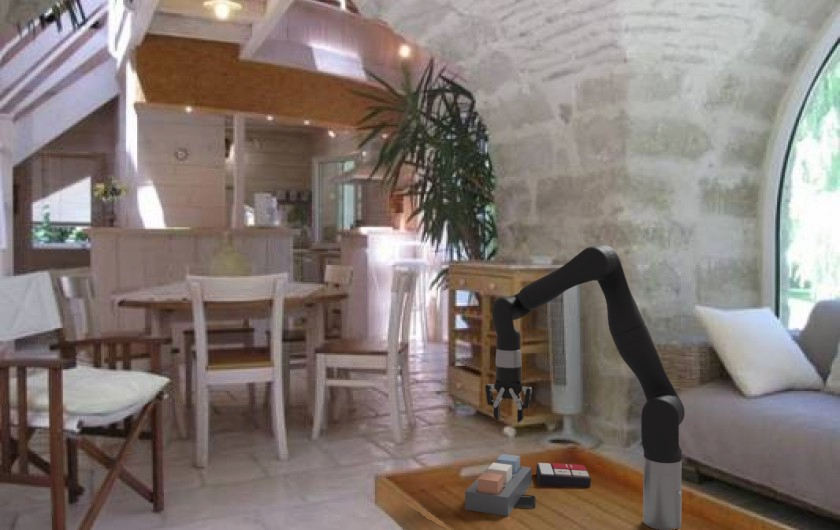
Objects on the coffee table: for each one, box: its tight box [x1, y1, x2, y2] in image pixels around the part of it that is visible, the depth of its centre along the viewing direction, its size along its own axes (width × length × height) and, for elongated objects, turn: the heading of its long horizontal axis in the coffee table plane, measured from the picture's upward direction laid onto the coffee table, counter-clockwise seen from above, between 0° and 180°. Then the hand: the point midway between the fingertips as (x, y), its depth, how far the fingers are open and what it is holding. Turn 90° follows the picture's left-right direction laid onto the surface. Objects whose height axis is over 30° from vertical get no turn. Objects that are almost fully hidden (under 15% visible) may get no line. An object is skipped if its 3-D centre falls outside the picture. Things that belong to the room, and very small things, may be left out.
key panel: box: [464, 462, 533, 517], centre depth 202 cm, size 12×26×5 cm, turn 157°
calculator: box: [535, 462, 592, 488], centre depth 215 cm, size 11×4×15 cm
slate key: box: [496, 453, 521, 474], centre depth 210 cm, size 6×6×4 cm
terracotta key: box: [477, 471, 503, 495], centre depth 194 cm, size 6×6×4 cm
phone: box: [515, 494, 537, 509], centre depth 198 cm, size 8×1×15 cm
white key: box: [487, 462, 512, 484], centre depth 202 cm, size 6×6×4 cm
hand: (508, 420), depth 210 cm, fingers open, 6 cm apart
